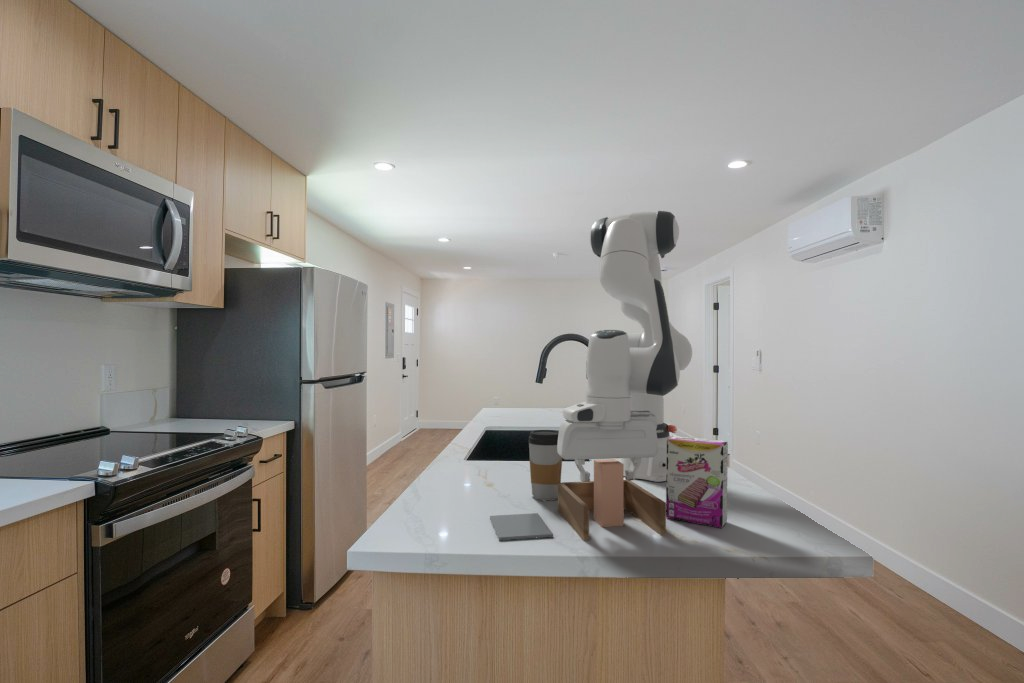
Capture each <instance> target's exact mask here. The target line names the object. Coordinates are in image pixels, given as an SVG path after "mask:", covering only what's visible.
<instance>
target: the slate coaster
mask: <svg viewBox="0 0 1024 683" xmlns="http://www.w3.org/2000/svg"><path fill="white" fill-rule="evenodd" d="M489 520H491V521H490V522H492V523H491V525H492V528H493V529H495V530H494V532H495V531H496V532H495V534H496V537H497V536H498V537H497V539H498V541H499V540H503V541H512V540H511V539H518V540H526V539H525V538H534V539H543V537H549V538H554V533H553V532H552V530H551V529H550V528H549V526H548V525H547V523H546V522H545V521H544V519H542V517H541V516H540V514H539V513H538V512H535V513H533V512H532V513H517V514H516V513H515V514H499V515H489ZM536 537H537V538H536ZM541 537H542V538H541Z"/></svg>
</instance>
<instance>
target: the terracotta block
mask: <svg viewBox="0 0 1024 683" xmlns="http://www.w3.org/2000/svg"><path fill="white" fill-rule="evenodd" d="M624 478H625V476H624V464H622V463H621V462H619V460H618V459H616V458H611V459H593V481H594V511H593V520H594V521H595V523H597V524H598V525H599V526H600V527H601V528H605V527H608V528H609V527H621V526H622V527H623V526H624V509H623V487H624V480H625V479H624Z"/></svg>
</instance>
